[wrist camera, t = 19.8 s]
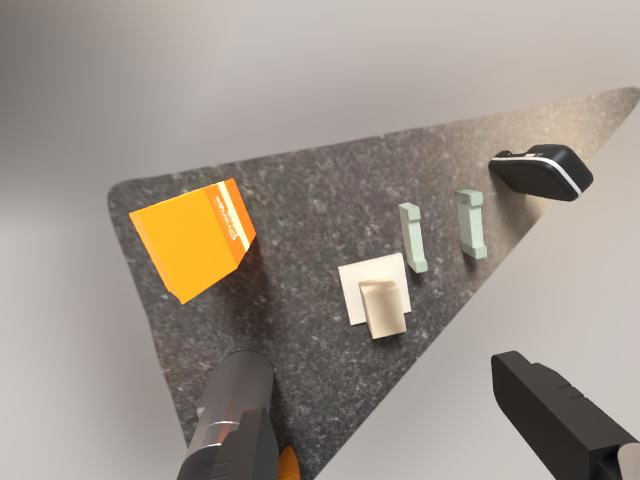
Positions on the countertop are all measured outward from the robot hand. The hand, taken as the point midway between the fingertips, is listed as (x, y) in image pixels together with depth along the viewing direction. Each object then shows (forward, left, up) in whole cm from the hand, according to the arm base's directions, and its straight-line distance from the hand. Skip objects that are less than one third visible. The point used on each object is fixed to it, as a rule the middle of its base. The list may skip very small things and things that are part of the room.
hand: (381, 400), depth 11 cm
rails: (+17, -6, -36) cm, 40 cm away
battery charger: (+29, 0, -36) cm, 46 cm away
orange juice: (-14, +3, -36) cm, 39 cm away
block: (+6, -15, -35) cm, 39 cm away
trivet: (+6, -14, -36) cm, 39 cm away
